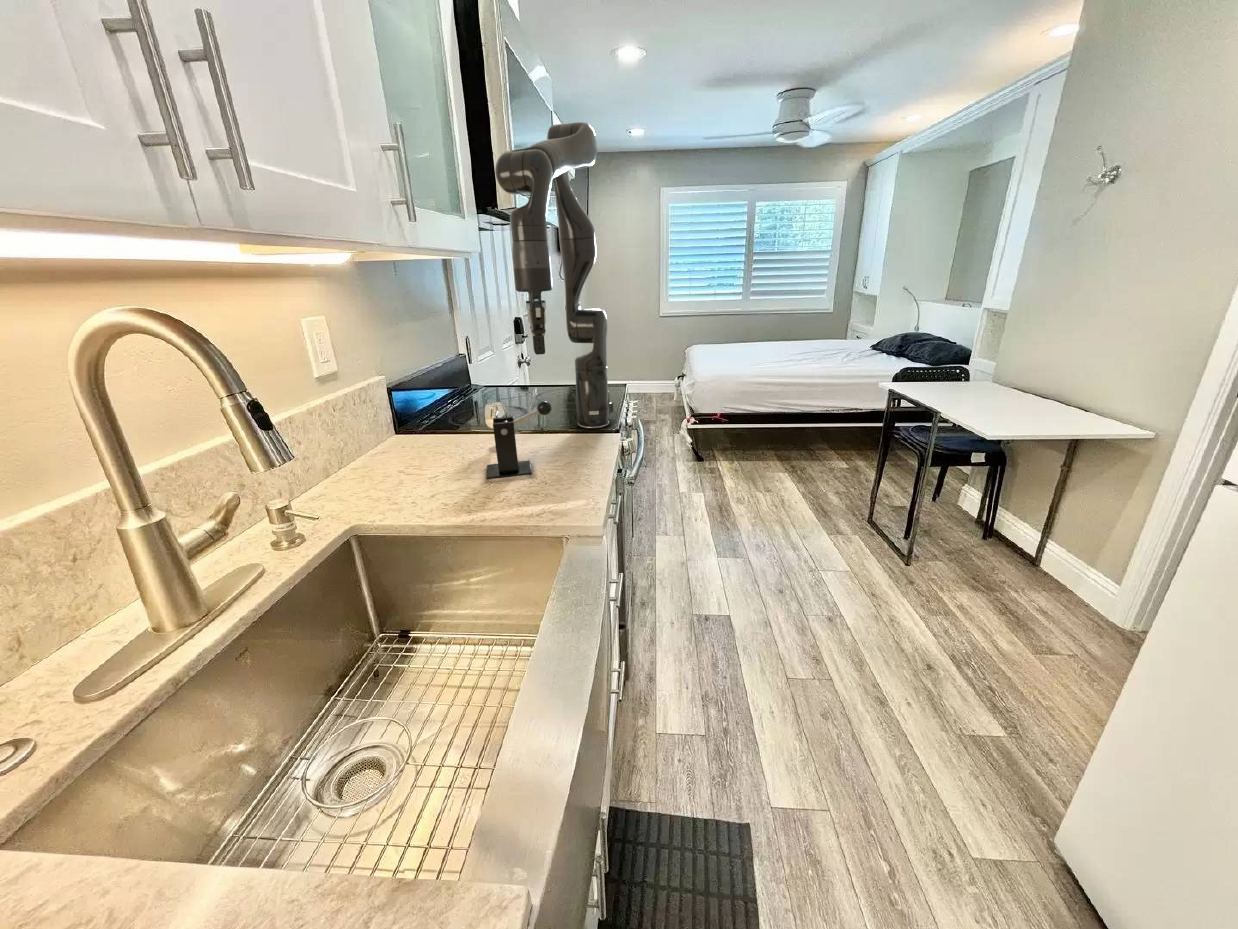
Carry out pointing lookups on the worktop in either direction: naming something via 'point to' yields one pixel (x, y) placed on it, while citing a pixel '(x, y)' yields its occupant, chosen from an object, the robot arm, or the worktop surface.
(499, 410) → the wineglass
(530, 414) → the tap lever
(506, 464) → the black lever stand
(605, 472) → the worktop surface
